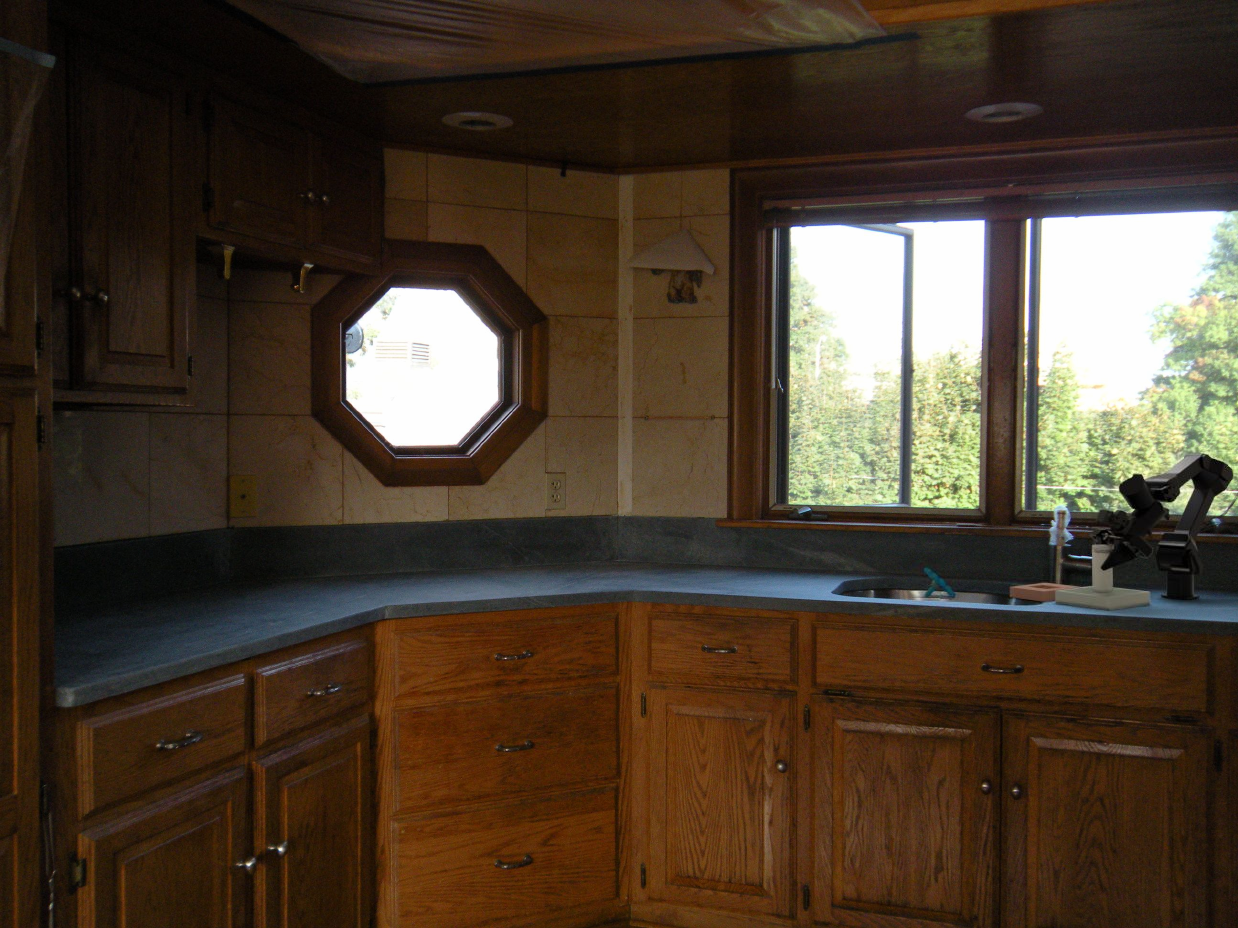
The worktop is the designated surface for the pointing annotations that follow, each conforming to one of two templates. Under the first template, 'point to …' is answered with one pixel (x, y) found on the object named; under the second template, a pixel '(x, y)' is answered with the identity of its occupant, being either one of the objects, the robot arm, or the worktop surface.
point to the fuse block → (1038, 591)
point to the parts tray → (1102, 598)
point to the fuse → (1101, 571)
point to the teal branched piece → (937, 584)
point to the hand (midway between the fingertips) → (1096, 568)
